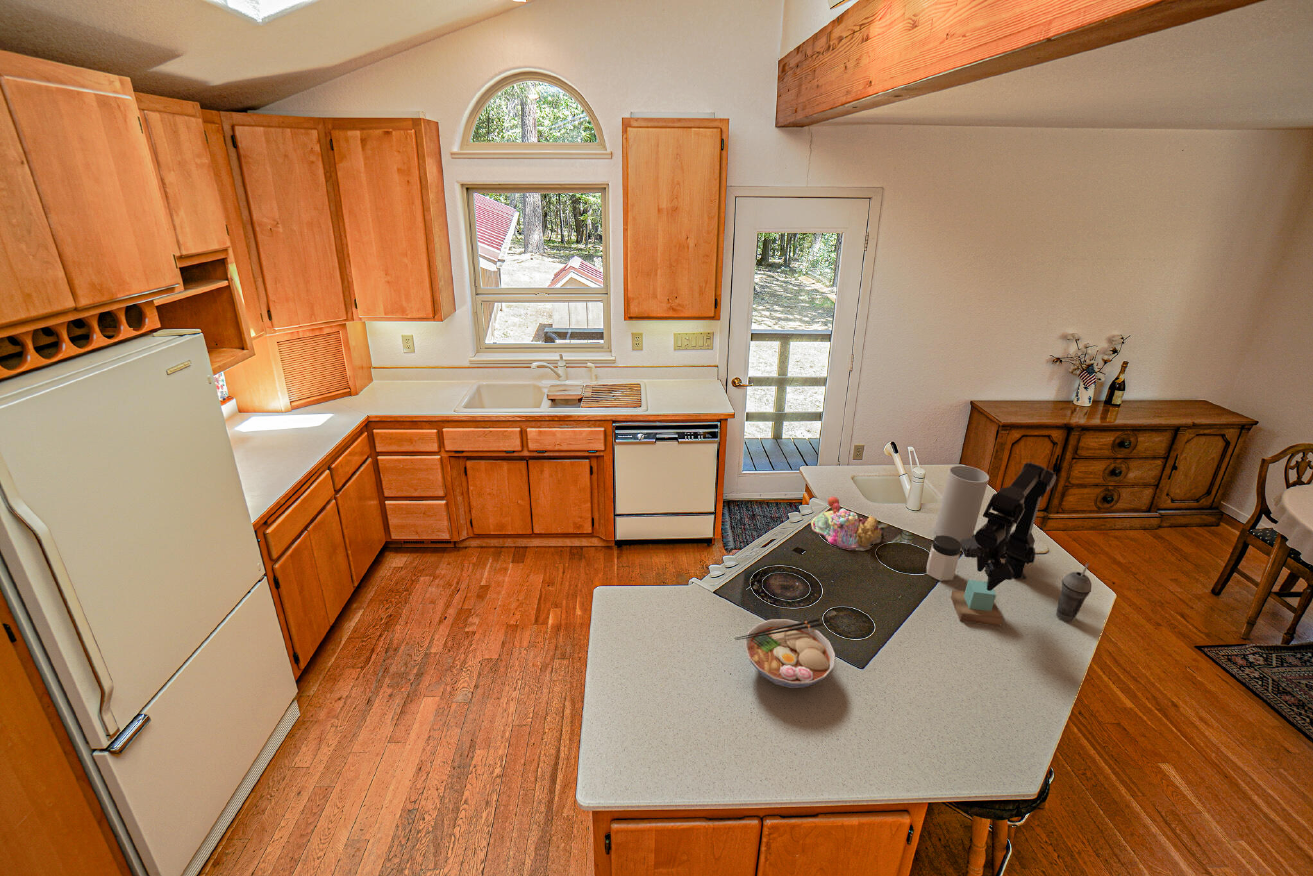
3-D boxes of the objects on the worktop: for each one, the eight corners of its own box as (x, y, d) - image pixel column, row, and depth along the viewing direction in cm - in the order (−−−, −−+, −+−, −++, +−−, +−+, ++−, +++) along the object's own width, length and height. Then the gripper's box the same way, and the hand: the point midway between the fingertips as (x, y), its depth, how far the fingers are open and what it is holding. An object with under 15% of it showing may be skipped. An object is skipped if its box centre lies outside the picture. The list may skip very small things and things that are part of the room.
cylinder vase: (926, 528, 229) (941, 467, 219) (954, 524, 233) (970, 463, 223) (950, 547, 218) (967, 484, 208) (979, 542, 222) (997, 479, 212)
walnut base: (950, 597, 193) (952, 589, 192) (988, 602, 192) (991, 594, 190) (960, 621, 183) (962, 613, 182) (1000, 626, 182) (1002, 618, 181)
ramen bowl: (759, 714, 150) (763, 689, 147) (725, 648, 170) (727, 624, 167) (852, 695, 157) (857, 670, 153) (808, 633, 177) (812, 610, 173)
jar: (925, 562, 210) (933, 532, 205) (952, 568, 207) (960, 537, 202) (926, 578, 202) (934, 546, 197) (953, 584, 200) (962, 552, 195)
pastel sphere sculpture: (888, 528, 229) (893, 506, 226) (871, 559, 211) (876, 536, 207) (822, 508, 241) (825, 487, 237) (800, 536, 223) (803, 513, 219)
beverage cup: (1071, 610, 189) (1092, 554, 181) (1083, 626, 183) (1106, 569, 175) (1046, 608, 190) (1065, 552, 182) (1057, 624, 183) (1078, 567, 175)
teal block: (963, 595, 189) (968, 579, 187) (984, 598, 189) (989, 582, 186) (969, 608, 184) (974, 592, 182) (991, 611, 183) (996, 594, 181)
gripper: (958, 514, 186) (946, 558, 192) (976, 549, 169) (963, 596, 176) (998, 519, 184) (985, 563, 191) (1021, 554, 168) (1005, 602, 174)
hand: (983, 580), depth 183 cm, fingers open, 9 cm apart
